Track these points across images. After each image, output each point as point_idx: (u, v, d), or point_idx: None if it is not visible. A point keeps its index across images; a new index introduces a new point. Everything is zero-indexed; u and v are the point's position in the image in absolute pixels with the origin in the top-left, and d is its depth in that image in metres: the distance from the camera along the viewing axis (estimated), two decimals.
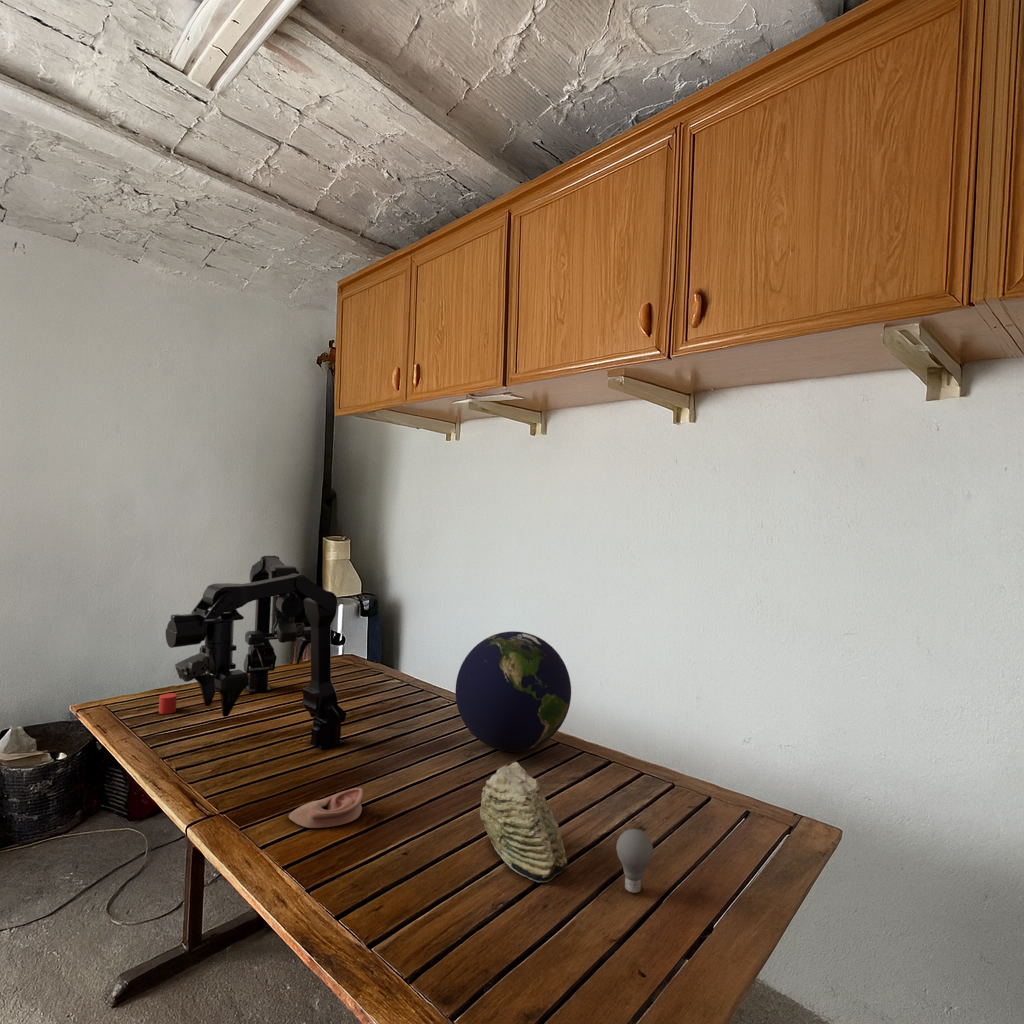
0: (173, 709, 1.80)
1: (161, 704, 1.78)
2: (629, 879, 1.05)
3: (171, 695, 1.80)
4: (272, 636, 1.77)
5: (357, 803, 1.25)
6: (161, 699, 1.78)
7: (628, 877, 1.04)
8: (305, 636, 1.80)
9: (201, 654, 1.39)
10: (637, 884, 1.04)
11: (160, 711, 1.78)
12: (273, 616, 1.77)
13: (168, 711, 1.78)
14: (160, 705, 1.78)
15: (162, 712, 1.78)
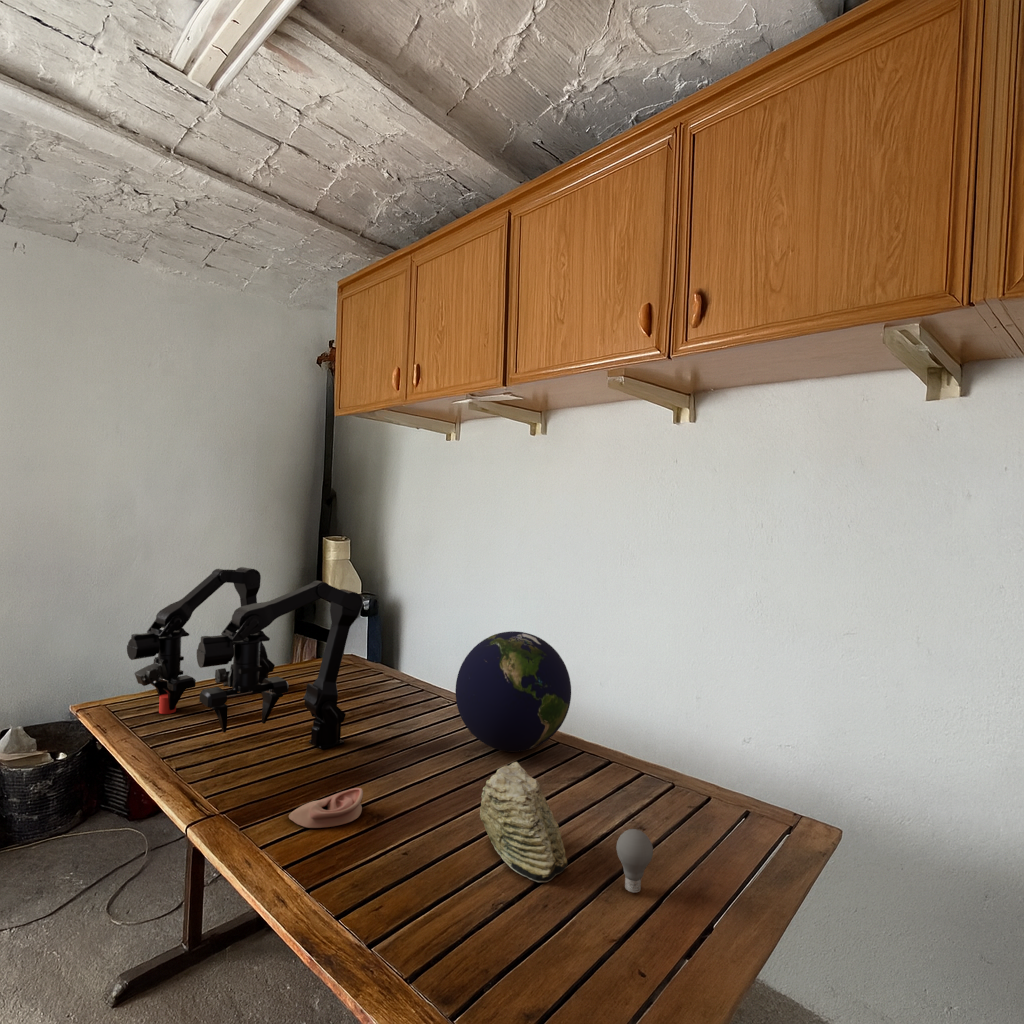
0: None
1: (161, 704, 1.78)
2: (629, 879, 1.05)
3: None
4: None
5: (357, 803, 1.25)
6: (161, 699, 1.78)
7: (628, 877, 1.04)
8: (167, 684, 1.74)
9: None
10: (637, 884, 1.04)
11: (160, 711, 1.78)
12: None
13: (168, 711, 1.78)
14: (160, 705, 1.78)
15: (162, 712, 1.78)
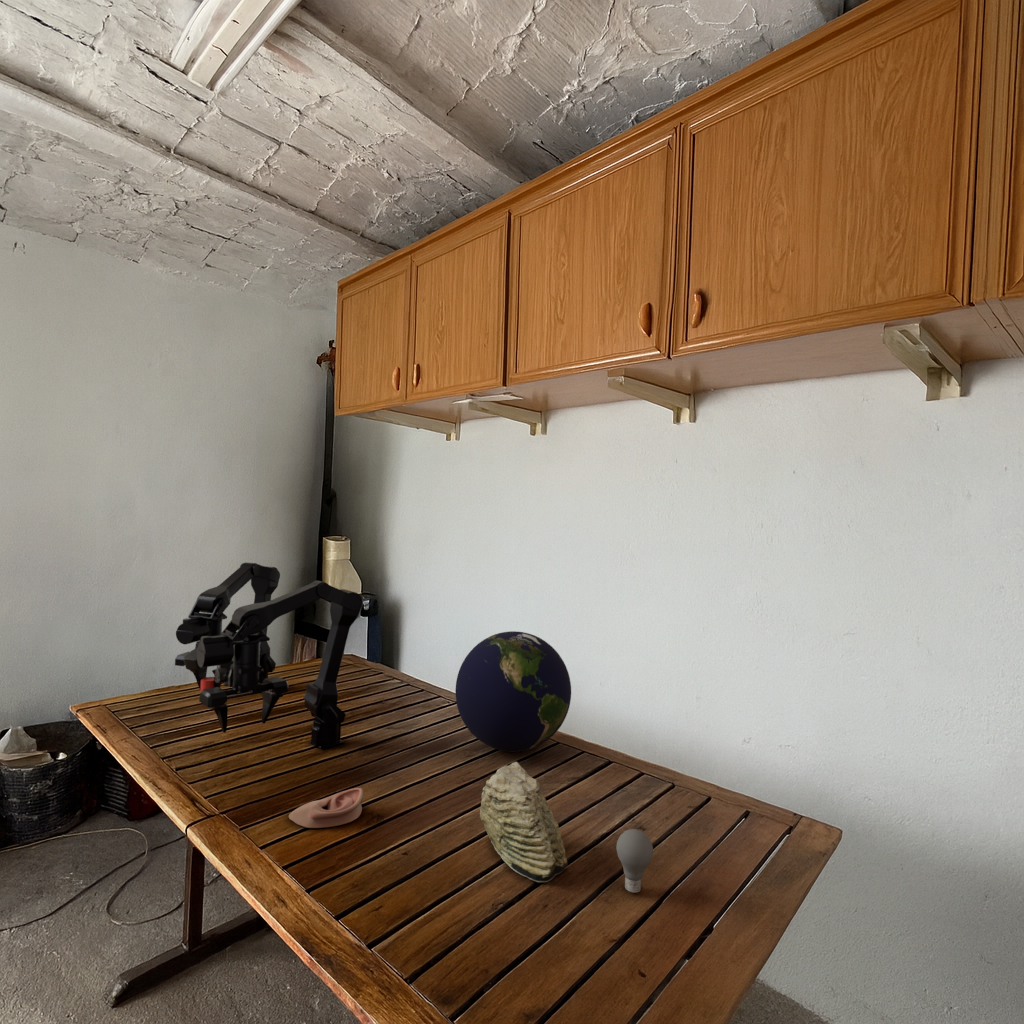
0: None
1: (206, 687, 1.79)
2: (629, 879, 1.05)
3: (212, 678, 1.82)
4: None
5: (357, 803, 1.25)
6: (206, 682, 1.79)
7: (628, 877, 1.04)
8: (220, 666, 1.77)
9: None
10: (637, 884, 1.04)
11: None
12: None
13: None
14: (204, 688, 1.79)
15: None
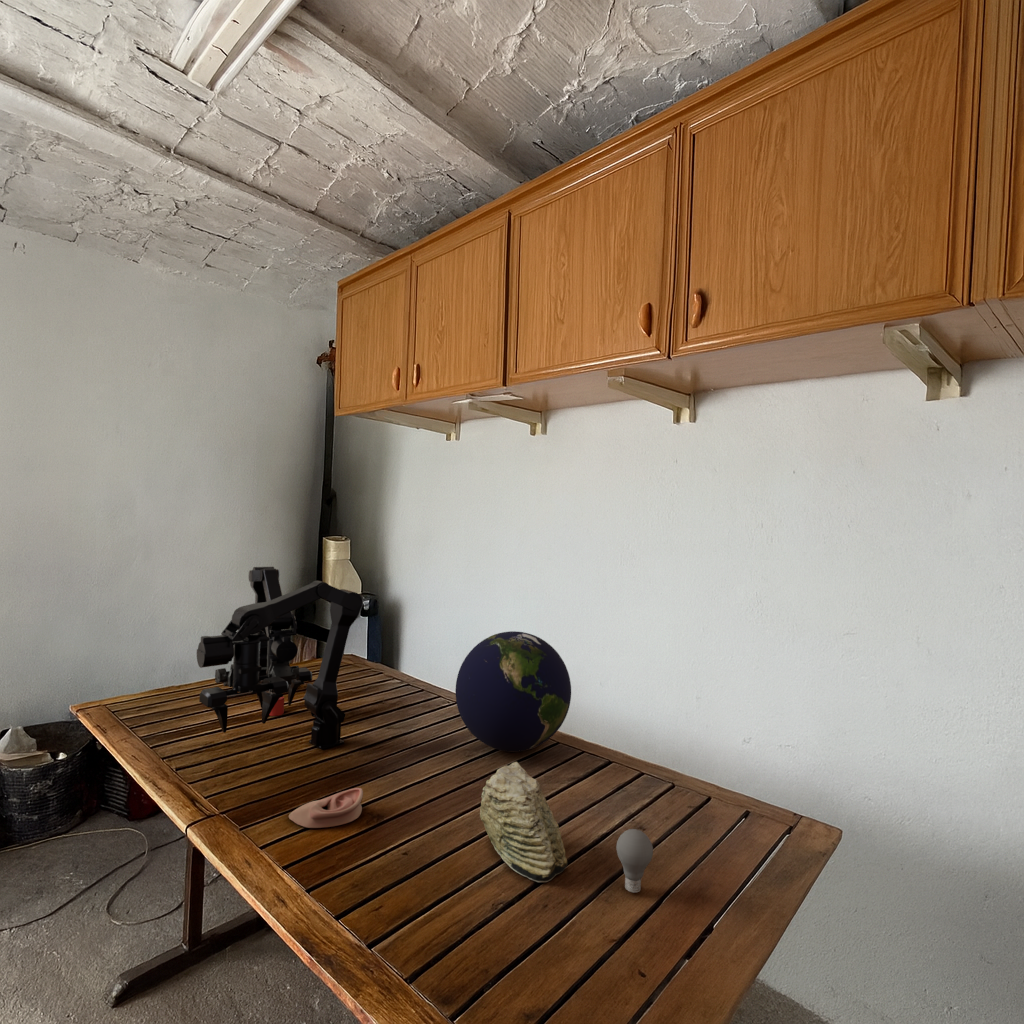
0: None
1: (280, 705, 1.81)
2: (629, 879, 1.05)
3: None
4: None
5: (357, 803, 1.25)
6: (279, 701, 1.81)
7: (628, 877, 1.04)
8: (300, 678, 1.83)
9: None
10: (637, 884, 1.04)
11: (278, 713, 1.81)
12: (268, 659, 1.80)
13: (283, 710, 1.83)
14: (278, 707, 1.81)
15: (281, 713, 1.81)
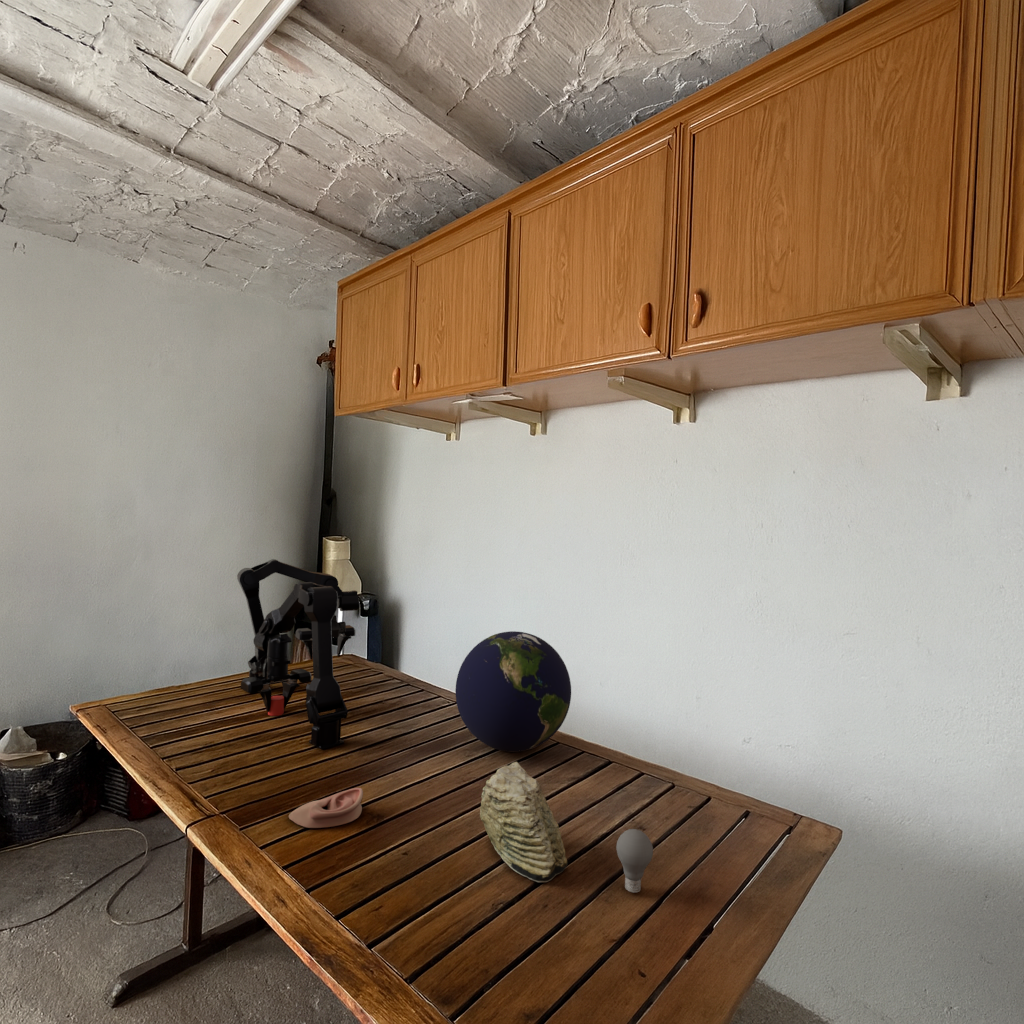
0: None
1: (280, 705, 1.81)
2: (629, 879, 1.05)
3: (277, 696, 1.83)
4: None
5: (357, 803, 1.25)
6: (279, 701, 1.81)
7: (628, 877, 1.04)
8: (345, 633, 2.14)
9: None
10: (637, 884, 1.04)
11: (278, 713, 1.81)
12: None
13: (283, 710, 1.83)
14: (278, 707, 1.81)
15: (281, 713, 1.81)
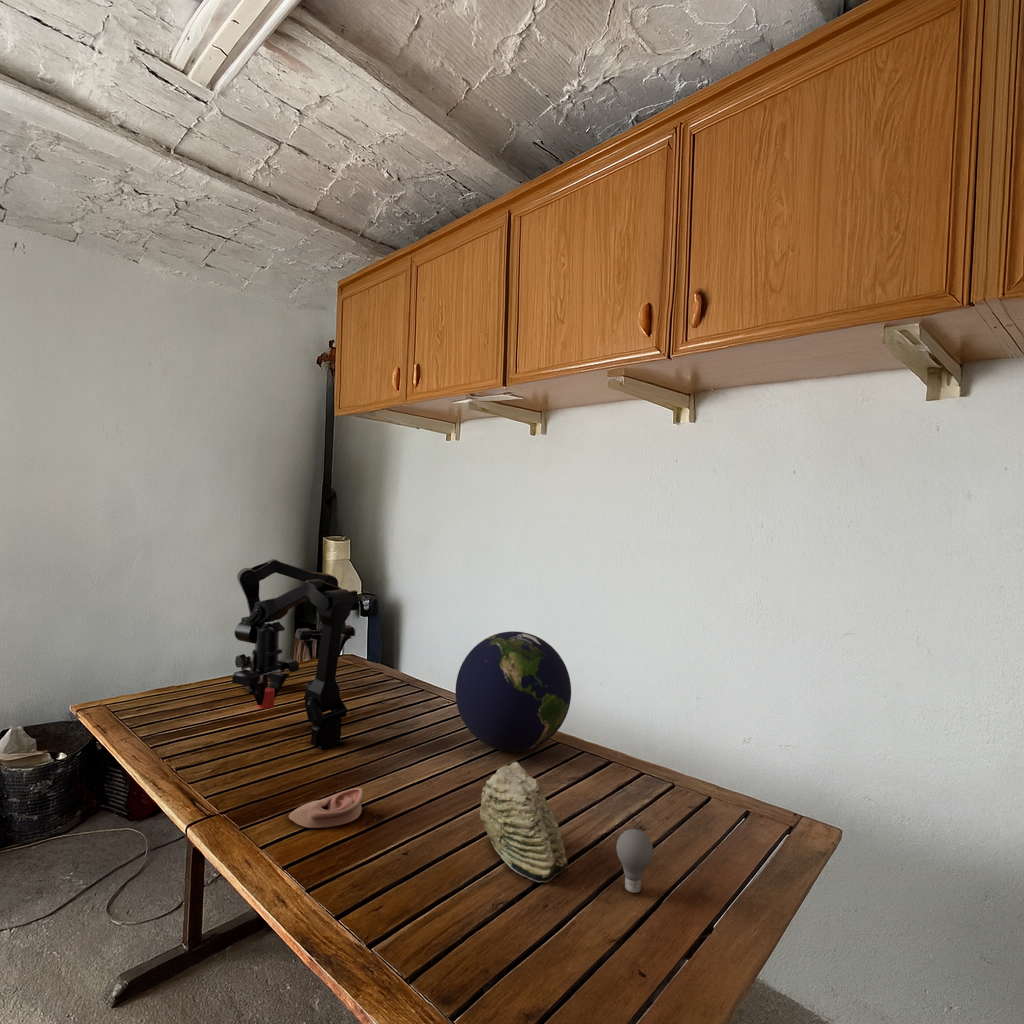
0: None
1: (272, 697, 1.73)
2: (629, 879, 1.05)
3: (266, 689, 1.74)
4: (318, 633, 2.11)
5: (357, 803, 1.25)
6: (272, 692, 1.73)
7: (628, 877, 1.04)
8: (345, 633, 2.14)
9: None
10: (637, 884, 1.04)
11: (270, 705, 1.72)
12: None
13: None
14: (270, 699, 1.72)
15: (273, 705, 1.73)
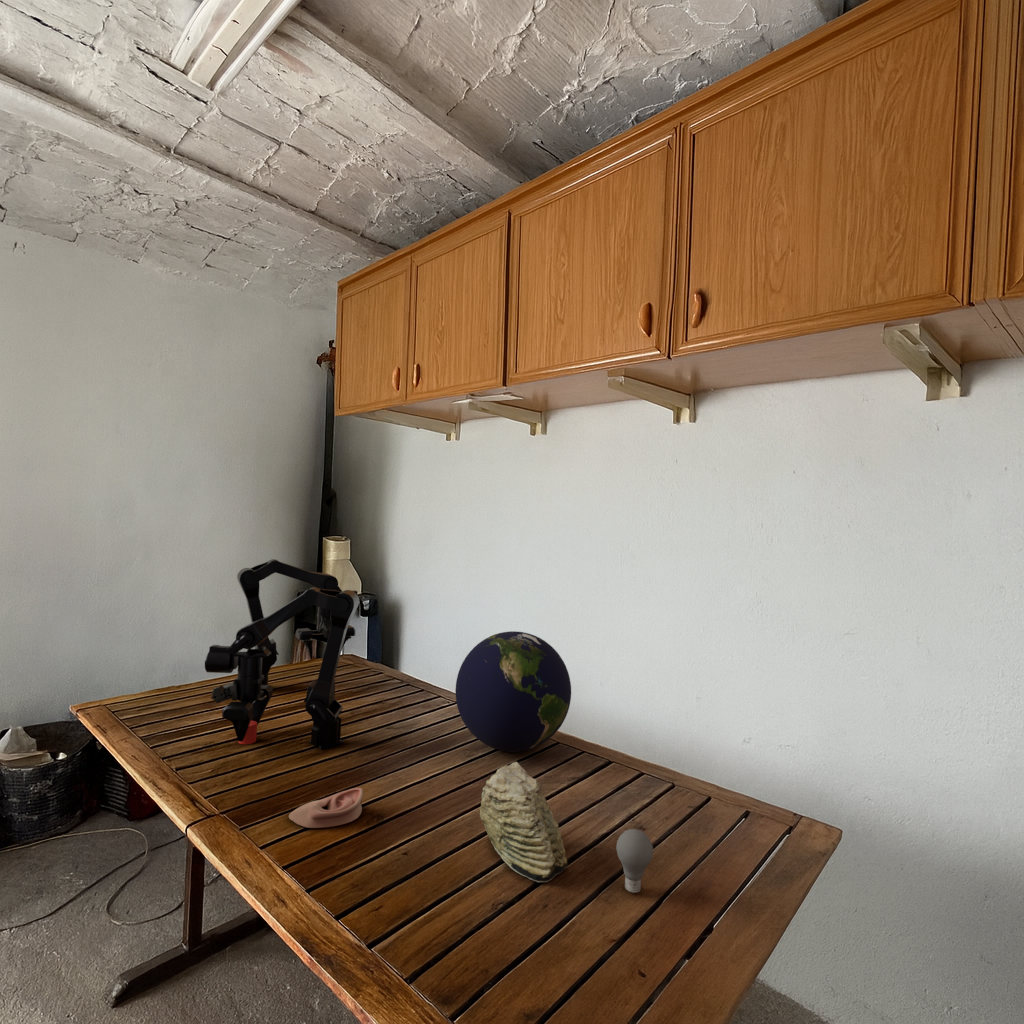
0: None
1: (256, 730, 1.62)
2: (629, 879, 1.05)
3: None
4: (318, 633, 2.11)
5: (357, 803, 1.25)
6: (256, 725, 1.62)
7: (628, 877, 1.04)
8: None
9: None
10: (637, 884, 1.04)
11: (255, 739, 1.61)
12: (319, 616, 2.11)
13: None
14: (255, 732, 1.61)
15: (256, 738, 1.62)
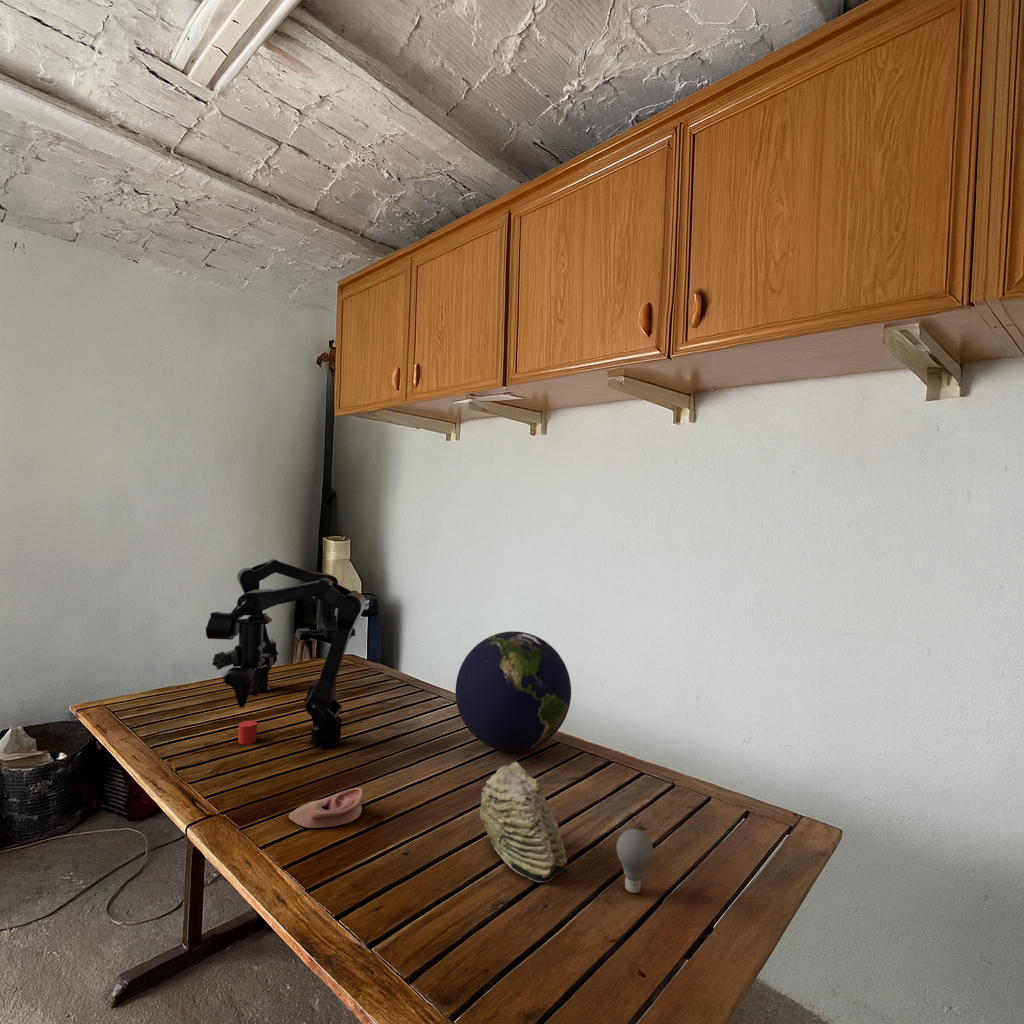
0: None
1: (256, 730, 1.62)
2: (629, 879, 1.05)
3: (246, 722, 1.62)
4: (318, 633, 2.11)
5: (357, 803, 1.25)
6: (256, 725, 1.62)
7: (628, 877, 1.04)
8: None
9: None
10: (637, 884, 1.04)
11: (255, 739, 1.61)
12: (319, 616, 2.11)
13: None
14: (255, 732, 1.61)
15: (256, 738, 1.62)
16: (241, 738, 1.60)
